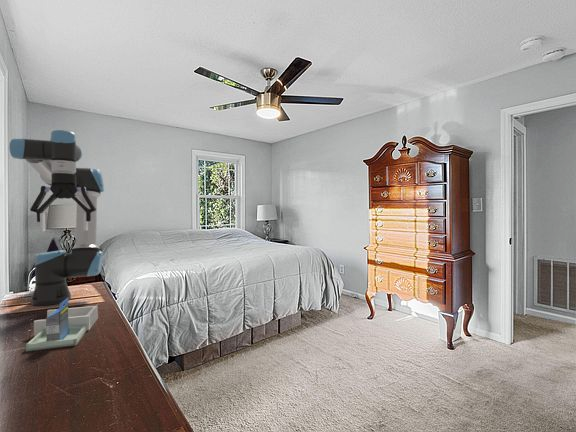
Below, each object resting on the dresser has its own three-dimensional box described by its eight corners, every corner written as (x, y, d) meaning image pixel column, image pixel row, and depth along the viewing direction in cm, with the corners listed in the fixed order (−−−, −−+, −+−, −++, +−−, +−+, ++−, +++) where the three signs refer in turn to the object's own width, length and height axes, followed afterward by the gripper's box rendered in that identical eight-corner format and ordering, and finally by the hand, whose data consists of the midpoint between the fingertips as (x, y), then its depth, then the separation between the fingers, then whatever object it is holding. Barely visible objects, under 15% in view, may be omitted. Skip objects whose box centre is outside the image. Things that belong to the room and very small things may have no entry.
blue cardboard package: (55, 334, 109) (55, 297, 109) (69, 332, 111) (68, 296, 110) (45, 344, 101) (45, 305, 101) (60, 342, 102) (60, 303, 102)
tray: (42, 335, 110) (42, 329, 110) (86, 330, 114) (86, 325, 114) (25, 351, 98) (25, 344, 97) (76, 345, 102) (76, 338, 102)
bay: (48, 323, 122) (48, 310, 122) (97, 318, 127) (97, 305, 127) (34, 336, 109) (33, 321, 109) (89, 330, 115) (89, 316, 115)
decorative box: (43, 294, 164) (42, 239, 164) (46, 288, 178) (45, 237, 178) (63, 292, 169) (62, 238, 168) (64, 286, 182) (64, 236, 182)
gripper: (18, 170, 113) (19, 232, 113) (100, 173, 121) (100, 230, 121) (27, 173, 120) (28, 230, 120) (104, 175, 128) (104, 229, 128)
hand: (64, 230), depth 121 cm, fingers open, 13 cm apart
